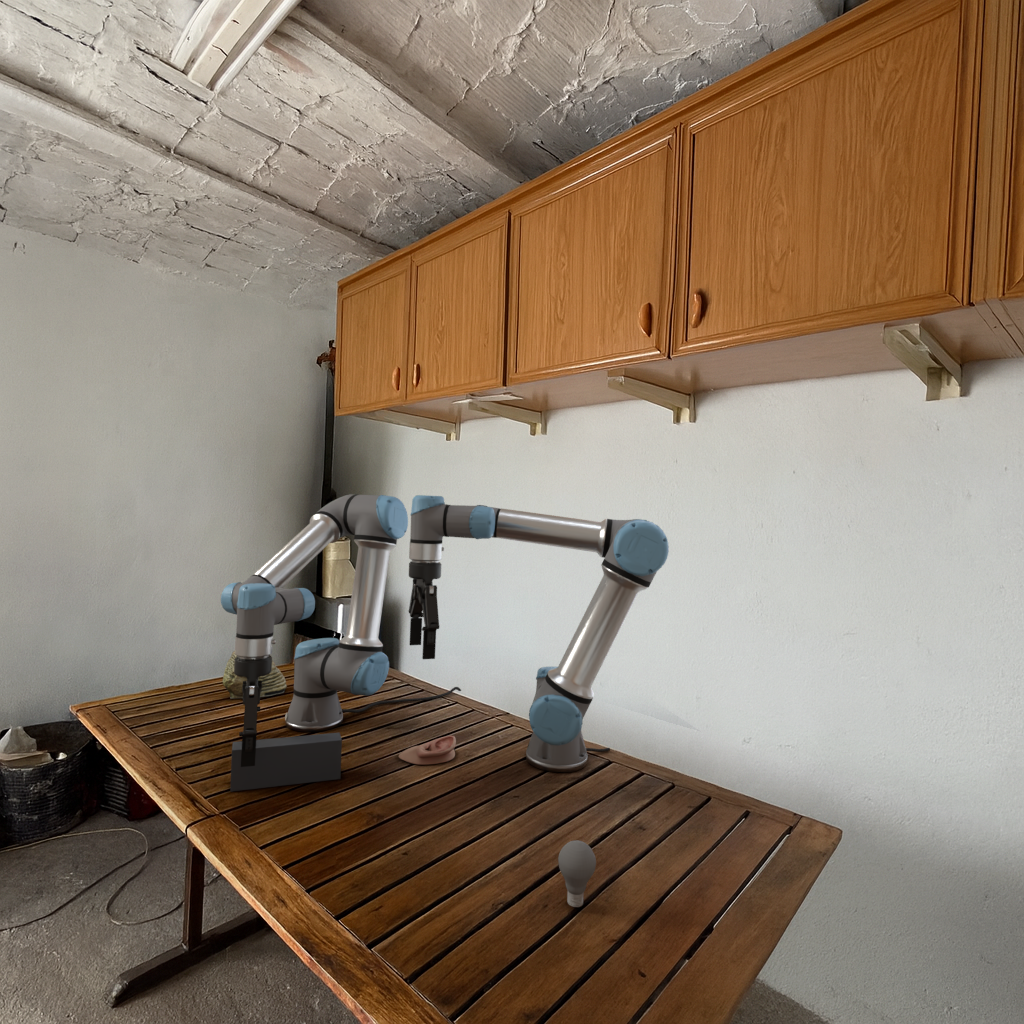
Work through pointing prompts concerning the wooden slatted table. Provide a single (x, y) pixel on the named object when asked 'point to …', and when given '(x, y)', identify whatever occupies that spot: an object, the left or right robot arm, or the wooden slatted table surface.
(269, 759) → the bar
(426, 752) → the anatomical model
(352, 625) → the left robot arm
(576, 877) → the light bulb
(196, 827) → the wooden slatted table surface
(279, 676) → the fossil
